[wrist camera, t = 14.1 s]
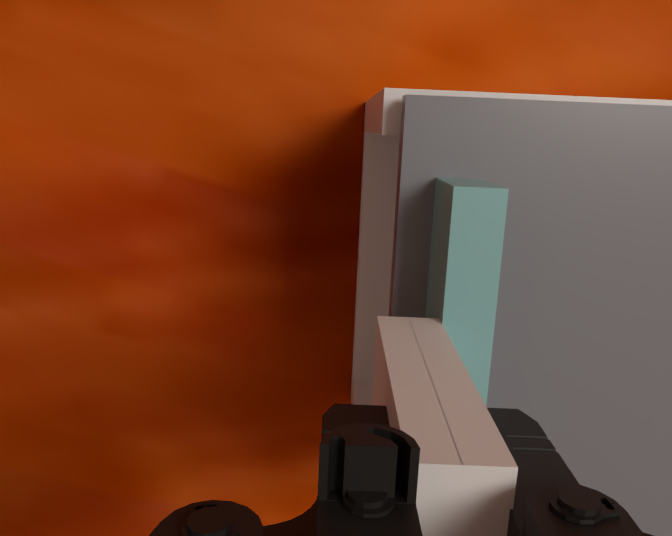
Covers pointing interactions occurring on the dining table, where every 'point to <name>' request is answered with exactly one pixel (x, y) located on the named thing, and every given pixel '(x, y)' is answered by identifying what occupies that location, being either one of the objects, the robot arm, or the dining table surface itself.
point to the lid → (550, 273)
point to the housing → (381, 215)
